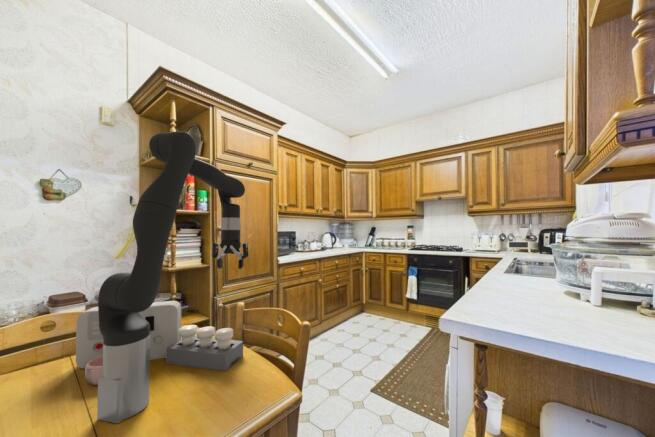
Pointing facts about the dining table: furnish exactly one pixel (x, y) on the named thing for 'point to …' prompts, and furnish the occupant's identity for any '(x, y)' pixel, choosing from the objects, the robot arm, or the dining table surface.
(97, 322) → the rounded white slab
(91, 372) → the mug
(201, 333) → the knob
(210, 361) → the mount
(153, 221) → the robot arm
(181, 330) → the knob
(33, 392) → the dining table surface
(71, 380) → the dining table surface
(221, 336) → the knob
